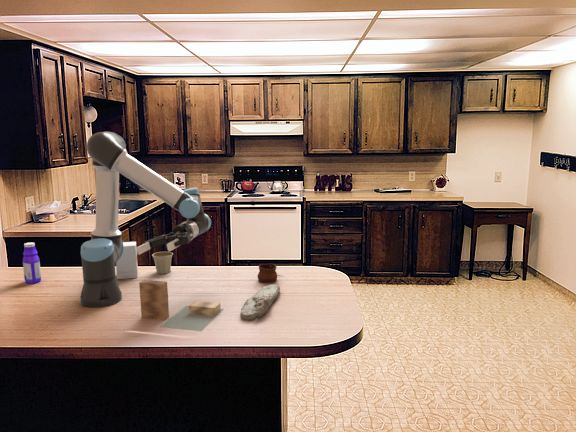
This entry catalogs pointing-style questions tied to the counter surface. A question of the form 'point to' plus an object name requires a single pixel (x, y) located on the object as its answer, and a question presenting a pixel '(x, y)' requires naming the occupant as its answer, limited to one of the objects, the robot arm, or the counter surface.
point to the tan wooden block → (204, 308)
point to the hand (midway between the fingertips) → (152, 249)
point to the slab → (154, 299)
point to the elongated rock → (259, 302)
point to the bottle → (31, 264)
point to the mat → (188, 320)
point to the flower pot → (162, 261)
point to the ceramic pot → (267, 273)
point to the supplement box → (127, 262)
